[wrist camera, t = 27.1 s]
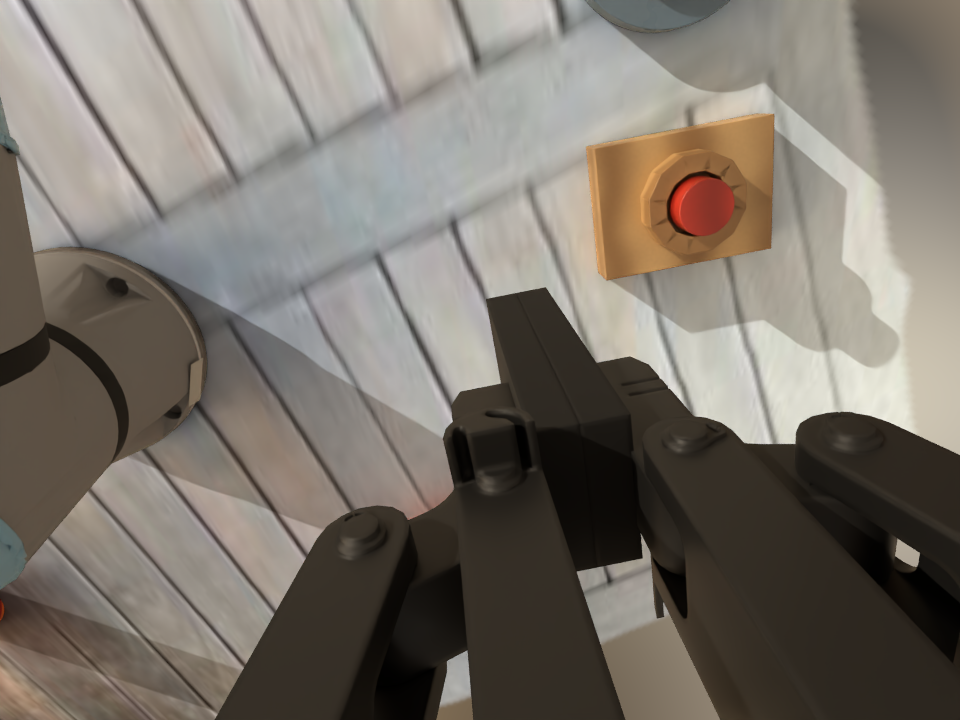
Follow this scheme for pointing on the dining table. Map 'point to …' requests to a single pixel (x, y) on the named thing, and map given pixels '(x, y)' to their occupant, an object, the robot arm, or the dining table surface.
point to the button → (702, 205)
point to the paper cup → (1, 610)
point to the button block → (655, 176)
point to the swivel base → (655, 13)
